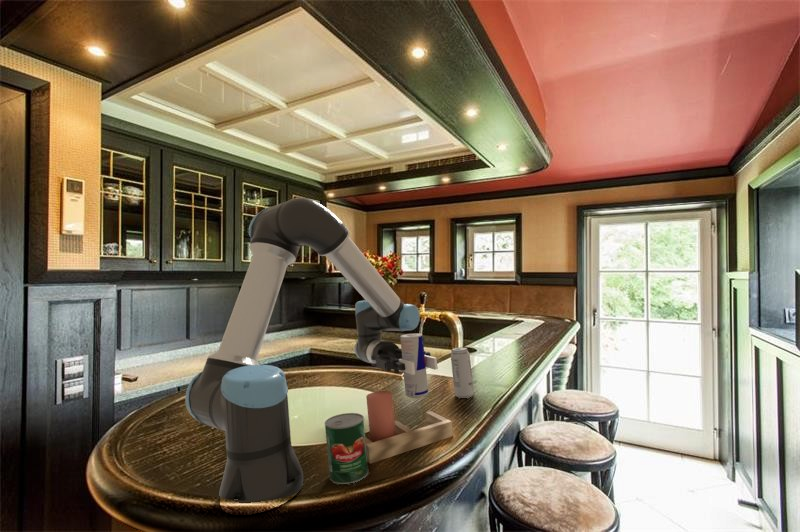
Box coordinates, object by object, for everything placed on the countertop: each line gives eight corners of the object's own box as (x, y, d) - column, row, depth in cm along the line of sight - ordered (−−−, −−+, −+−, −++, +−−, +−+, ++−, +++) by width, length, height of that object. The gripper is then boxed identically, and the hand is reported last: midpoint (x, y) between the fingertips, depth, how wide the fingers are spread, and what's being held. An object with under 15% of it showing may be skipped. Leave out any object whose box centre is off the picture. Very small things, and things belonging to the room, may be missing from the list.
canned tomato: (353, 461, 81) (349, 410, 82) (376, 472, 75) (371, 417, 76) (321, 476, 76) (317, 421, 76) (343, 489, 70) (338, 430, 71)
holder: (370, 463, 79) (368, 446, 79) (354, 448, 88) (353, 433, 88) (453, 436, 89) (451, 421, 89) (432, 424, 98) (430, 411, 98)
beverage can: (427, 398, 89) (420, 335, 89) (403, 399, 90) (397, 337, 90) (429, 391, 94) (423, 332, 95) (408, 392, 95) (402, 333, 96)
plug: (377, 455, 83) (372, 400, 83) (367, 446, 88) (362, 395, 89) (401, 447, 86) (396, 394, 86) (390, 439, 91) (385, 389, 91)
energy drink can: (475, 398, 115) (470, 349, 116) (456, 400, 115) (451, 351, 116) (472, 392, 121) (467, 346, 122) (453, 394, 122) (449, 348, 122)
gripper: (412, 361, 112) (458, 374, 92) (354, 373, 104) (390, 390, 83) (410, 336, 113) (455, 343, 92) (352, 346, 104) (387, 357, 84)
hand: (424, 366), depth 88 cm, fingers closed on beverage can, 5 cm apart
